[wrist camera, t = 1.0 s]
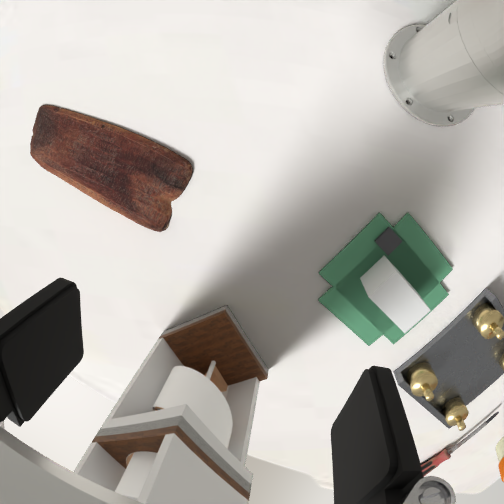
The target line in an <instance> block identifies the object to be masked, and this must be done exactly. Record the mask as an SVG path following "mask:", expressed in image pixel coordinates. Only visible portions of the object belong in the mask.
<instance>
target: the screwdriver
mask: <svg viewBox="0 0 504 504" xmlns="http://www.w3.org/2000/svg"><path fill="white" fill-rule="evenodd" d="M498 413H499V412H497V413H495V414H494V415H493V416H491V417H490V418H489V419H488V420H487V421H485V422H484V423H483V424H482V425H481V426H479V427H478V428H477V429H476V430H475V431H473V432H472V433H471V434H470V435H468V436H467V437H466V438H465V439H463V440H462V441H461V442H459V443H458V444H457V445H455V446H454V447H452V448H451V449H449V450H447V449H444V450H443V451H442V452H441V453H440V454H439V455H437V456H436V457H433V458H431V459H430V460H428V461H427V462H425V463H423V464H421V468H422V472H423V476H425V475H426V474H428V473H429V472H430V471H432V470H433V469H434V468H436V467H437V466H438V465H439V464H440V463H442V462H443V461H445V460H447V459H449V458H450V457H451V456H450V454H451V453H453V451H455V450H456V449H457V448H458V447H460V446H461V445H462V444H463V443H465V442H466V441H467V440H468V439H470V438H471V437H472V436H473V435H475V434H476V433H477V432H478V431H480V430H481V429H482V428H483V427H484V426H485V425H487V423H489V422H490V421H491V420H492V419H493V418H494V417H495V416H496V415H497V414H498Z"/></svg>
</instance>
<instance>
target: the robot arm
mask: <svg viewBox="0 0 504 504" xmlns="http://www.w3.org/2000/svg"><path fill="white" fill-rule="evenodd" d="M417 31H418V32H417ZM389 56H392V59H391V58H390V57H389ZM383 64H384V73H385V77H386V80H387V83H388V85H389V88H390V90H391V92H392V93H393V95H394V97H395V98H396V100H397V101H398V102H399V103H400V104H401V106H402V107H403V108H404V109H405V110H406V111H407V112H409V113H410V114H411V115H412V116H414V117H415V118H417V119H419V120H420V121H423V122H425V123H428V124H430V125H436V126H450V125H455V124H458V123H460V122H462V121H464V120H465V119H466V118H468V117H469V116H470V114H471V113H472V112H473V110H474V108H478V107H486V106H493V105H501V104H504V0H456V1H455V2H454V3H453V4H451V5H450V6H449V7H448V8H447V9H445V10H444V11H443V12H442V13H441V14H439V15H438V16H437V17H436V18H435V19H433V20H432V21H431V22H430V23H429V24H427V25H421V24H417V25H410V26H407V27H405V28H402V29H401V30H400V31H398V32H397V33H396V34H395V35H394V36H393V37H392V38H391V39H390V41H389V43H388V44H387V47H386V50H385V53H384V61H383ZM406 100H407V101H408V103H409V104H407V103H406ZM448 118H449V120H448ZM83 353H84V350H83V339H82V327H81V310H80V291H79V289H77V286H76V284H75V283H74V282H71V281H69V280H66V279H64V278H58V279H57V280H55V281H54V282H52V283H51V284H49V285H48V286H46V287H45V288H43V289H42V290H40V291H39V292H37V293H36V294H34V295H33V296H31V297H30V298H29V299H27V300H26V301H24V302H23V303H21V304H20V305H19V306H17V307H16V308H14V309H13V310H12V311H10V312H9V313H8V314H6V315H5V316H3V317H2V318H1V319H0V504H144V503H141V502H138V501H136V500H133V499H131V498H128V497H126V496H123V495H121V494H118V493H116V492H114V491H111V490H109V489H107V488H105V487H102V486H100V485H98V484H96V483H94V482H92V481H90V480H88V479H86V478H84V477H82V476H80V475H78V474H76V473H74V472H72V471H70V470H68V469H66V468H64V467H63V466H61V465H59V464H57V463H56V462H54V461H52V460H50V459H49V458H47V457H45V456H43V455H42V454H40V453H39V452H37V451H36V450H34V449H32V448H31V447H29V446H28V445H26V444H25V443H23V442H22V441H20V440H19V439H17V438H16V437H14V436H13V435H12V434H10V433H9V432H7V431H6V430H5V429H4V420H5V418H6V417H8V419H10V420H11V421H13V422H14V423H15V424H17V425H18V426H21V425H22V424H23V423H24V421H29V420H30V419H31V418H32V417H33V416H34V415H35V413H36V412H37V411H38V410H39V409H40V407H41V406H42V405H43V404H44V403H45V401H46V400H47V399H48V398H49V397H50V395H51V394H52V393H53V392H54V391H55V389H57V387H58V386H59V385H60V384H61V383H62V382H63V380H64V379H65V378H66V377H67V376H68V375H69V374H70V372H71V371H72V370H73V369H74V368H75V367H76V366H77V365H78V363H79V362H80V361H81V360H82V357H83ZM331 444H332V461H333V482H334V504H455V502H456V499H455V493H454V491H453V489H452V487H451V486H450V484H449V483H447V482H446V481H445V480H443V479H441V478H439V477H434V476H428V477H424V476H423V472H422V468H421V464H420V461H419V457H418V454H417V450H416V447H415V443H414V440H413V436H412V433H411V430H410V426H409V423H408V420H407V417H406V414H405V410H404V407H403V404H402V401H401V398H400V395H399V392H398V389H397V386H396V383H395V381H394V378H393V375H392V372H391V370H390V369H389V368H384V367H378V366H372V367H371V368H370V369H365V370H364V372H363V373H362V375H361V377H360V379H359V381H358V382H357V384H356V386H355V388H354V390H353V391H352V393H351V395H350V397H349V398H348V400H347V402H346V404H345V405H344V407H343V409H342V410H341V412H340V414H339V415H338V417H337V419H336V420H335V422H334V423H333V426H332V429H331Z"/></svg>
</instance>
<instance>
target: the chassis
mask: <svg viewBox="0 0 504 504" xmlns="http://www.w3.org/2000/svg"><path fill="white" fill-rule="evenodd" d="M503 373H504V309H503V308H502V306H501V304H500V302H499V301H498V299H497V297H496V296H495V295H494V294H493V293H492V292H490V291H489V290H488V289H487V288H485V289H484V290H483V292H482V293H481V294H480V295H479V296H478V297H477V298H476V299H475V300H474V301H473V302H472V303H471V304H470V305H469V306H468V307H467V308H466V309H465V310H464V311H463V312H462V313H461V314H460V315H459V316H458V317H457V318H456V319H455V320H454V321H452V322H451V323H450V324H449V325H448V326H447V327H446V328H445V329H444V330H443V331H442V332H441V333H439V334H438V335H437V336H436V337H435V338H434V339H433V340H432V341H430V342H429V343H428V344H427V345H426V346H425V347H423V348H422V349H421V350H420V351H419V352H418V353H416V354H415V355H414V356H413V357H411V358H410V359H409V360H408V361H407V362H405V363H404V364H403V365H402V366H400V367H399V368H398V369H396V370H395V371H394V374H395V377H396V380H397V382H398V385H399V386H400V387H401V388H403V389H404V390H405V391H406V392H407V393H408V394H409V395H411V396H412V397H413V398H414V399H415V400H416V401H418V402H419V403H420V404H421V405H422V406H423V407H424V408H426V409H427V410H428V411H429V412H430V413H431V414H433V415H434V416H435V417H436V418H437V419H438V420H440V421H441V422H442V423H443V424H444V425H445V426H446V427H448V428H451V427H452V426H455V425H457V426H458V428H459V430H460V431H462V430H464V429H465V428H466V425H465V423H464V420H465V419H466V417H467V416H468V410H467V408H466V405H467V404H469V403H470V402H471V401H472V400H474V399H475V398H476V397H477V396H478V395H480V394H481V393H482V392H483V391H484V390H486V389H487V388H488V387H489V386H490V385H491V384H492V383H494V382H495V381H496V380H497V379H498V378H499V377H500V376H501V375H502V374H503Z"/></svg>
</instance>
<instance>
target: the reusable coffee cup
mask: <svg viewBox="0 0 504 504" xmlns="http://www.w3.org/2000/svg"><path fill="white" fill-rule="evenodd" d="M496 452H497V456H498V459H499V470H500V474H501V479H502V481H503V482H504V437H503V438H502V439H501V440H500V441H499V442H498V444H497V445H496Z"/></svg>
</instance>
